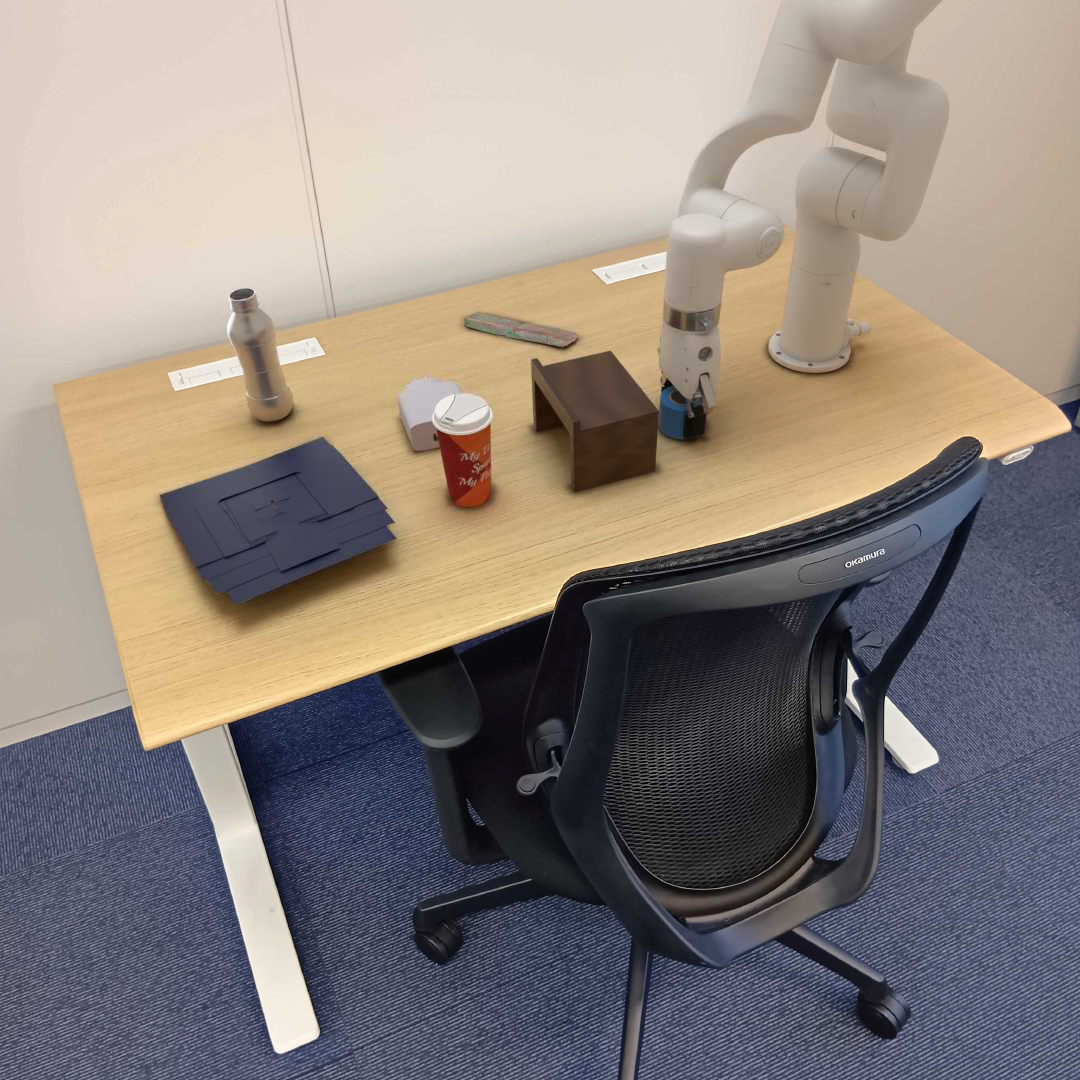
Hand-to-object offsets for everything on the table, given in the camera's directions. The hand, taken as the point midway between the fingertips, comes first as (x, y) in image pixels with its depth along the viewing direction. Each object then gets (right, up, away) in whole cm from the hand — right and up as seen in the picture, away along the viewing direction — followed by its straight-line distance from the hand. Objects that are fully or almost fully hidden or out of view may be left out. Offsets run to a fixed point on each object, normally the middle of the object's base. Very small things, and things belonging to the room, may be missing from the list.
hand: (681, 421), depth 141 cm
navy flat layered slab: (-54, -15, -13) cm, 58 cm away
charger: (-36, +1, +4) cm, 37 cm away
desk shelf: (-13, -4, -3) cm, 14 cm away
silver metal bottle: (-60, +2, +6) cm, 61 cm away
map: (-24, +17, +22) cm, 36 cm away
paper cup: (-30, -11, -9) cm, 33 cm away
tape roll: (0, -1, +1) cm, 1 cm away
